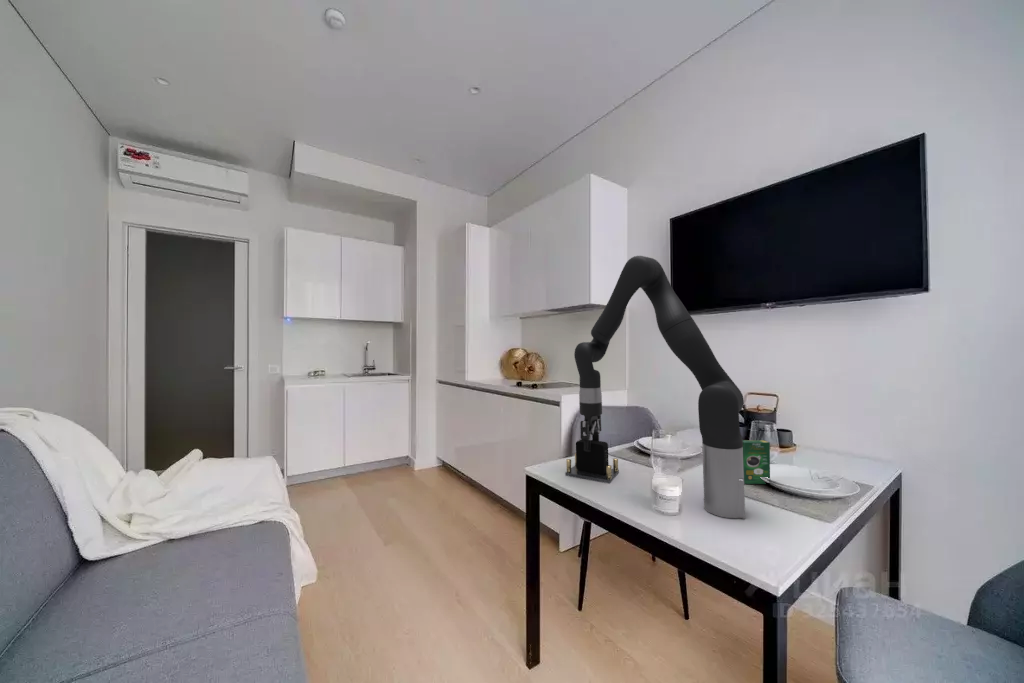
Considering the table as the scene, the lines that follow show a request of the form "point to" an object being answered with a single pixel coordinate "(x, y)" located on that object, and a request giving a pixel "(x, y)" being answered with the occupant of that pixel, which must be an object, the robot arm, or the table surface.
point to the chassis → (604, 478)
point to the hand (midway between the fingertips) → (591, 448)
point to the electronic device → (592, 457)
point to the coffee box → (756, 461)
